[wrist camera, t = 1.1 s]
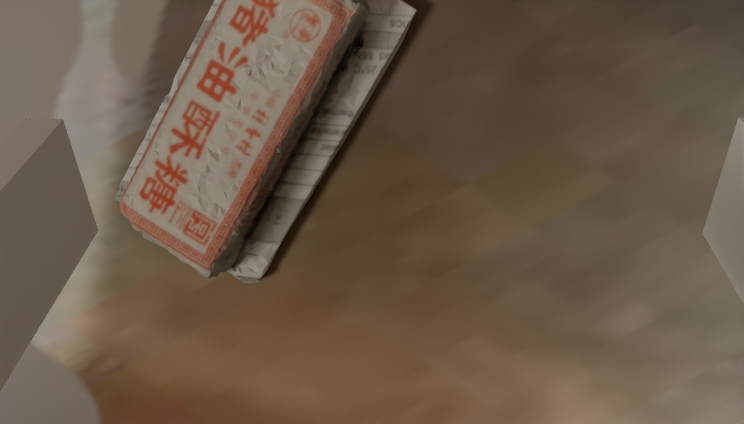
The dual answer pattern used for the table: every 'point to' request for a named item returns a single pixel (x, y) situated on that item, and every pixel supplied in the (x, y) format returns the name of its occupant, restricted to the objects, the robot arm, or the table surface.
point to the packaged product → (256, 125)
